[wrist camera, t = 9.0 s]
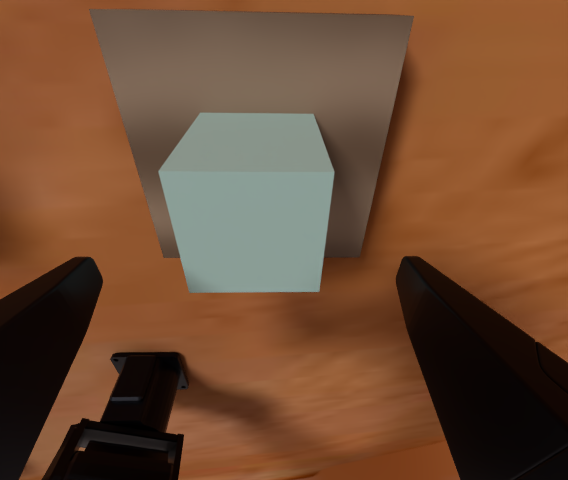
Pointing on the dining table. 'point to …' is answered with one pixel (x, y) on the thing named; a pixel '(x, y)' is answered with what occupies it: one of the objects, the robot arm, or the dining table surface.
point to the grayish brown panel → (258, 91)
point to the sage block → (250, 202)
